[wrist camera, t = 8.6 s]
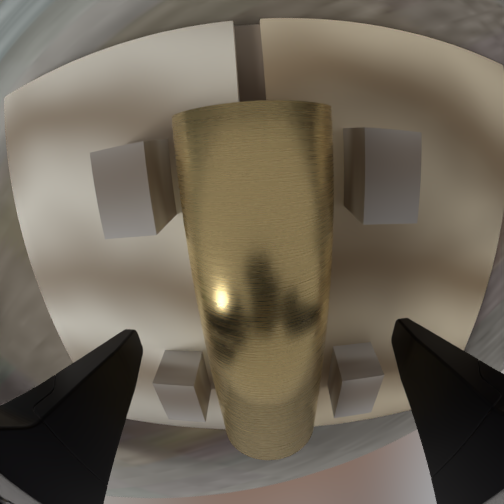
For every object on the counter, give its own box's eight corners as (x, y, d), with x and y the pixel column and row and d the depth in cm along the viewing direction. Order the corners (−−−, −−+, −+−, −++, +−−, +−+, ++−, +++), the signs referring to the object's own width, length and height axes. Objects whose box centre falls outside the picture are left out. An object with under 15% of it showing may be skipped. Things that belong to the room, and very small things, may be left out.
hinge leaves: (432, 391, 17) (448, 425, 14) (109, 403, 18) (93, 437, 15) (489, 67, 8) (534, 62, 5) (18, 97, 10) (-28, 98, 7)
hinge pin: (307, 389, 15) (319, 455, 11) (228, 394, 15) (223, 461, 11) (312, 113, 10) (354, 101, 5) (189, 121, 10) (149, 114, 6)
